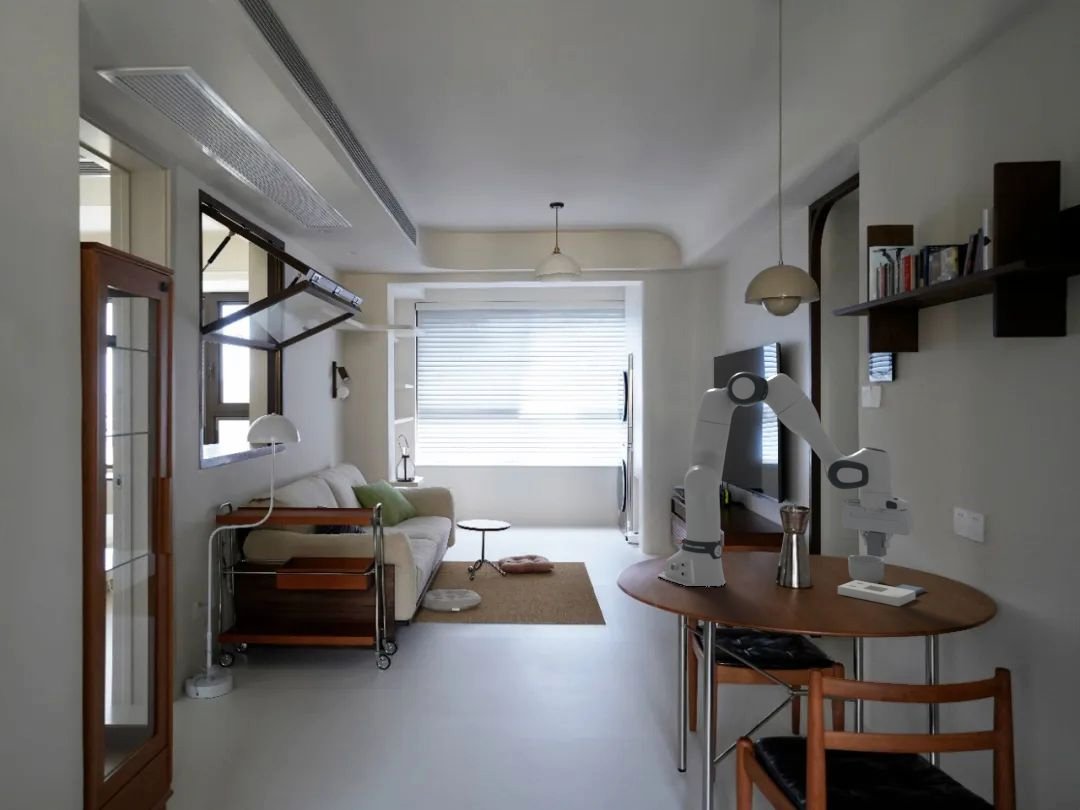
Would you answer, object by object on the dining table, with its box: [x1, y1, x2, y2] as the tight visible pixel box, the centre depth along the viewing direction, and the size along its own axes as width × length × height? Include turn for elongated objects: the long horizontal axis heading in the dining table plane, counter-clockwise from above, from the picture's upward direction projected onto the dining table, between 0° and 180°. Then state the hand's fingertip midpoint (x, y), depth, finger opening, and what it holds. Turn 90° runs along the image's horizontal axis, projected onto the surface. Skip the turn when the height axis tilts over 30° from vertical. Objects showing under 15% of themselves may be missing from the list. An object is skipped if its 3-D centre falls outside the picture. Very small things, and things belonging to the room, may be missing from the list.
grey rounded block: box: [847, 554, 885, 584], centre depth 233 cm, size 14×11×8 cm
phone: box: [895, 583, 926, 597], centre depth 219 cm, size 7×11×1 cm, turn 131°
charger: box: [866, 531, 887, 558], centre depth 214 cm, size 4×4×7 cm
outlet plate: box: [837, 580, 916, 607], centre depth 214 cm, size 18×12×2 cm, turn 41°
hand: (876, 546), depth 214 cm, fingers closed on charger, 4 cm apart
